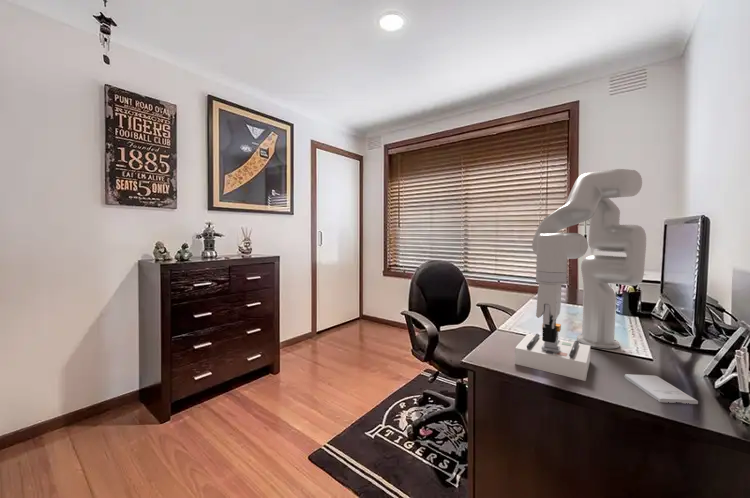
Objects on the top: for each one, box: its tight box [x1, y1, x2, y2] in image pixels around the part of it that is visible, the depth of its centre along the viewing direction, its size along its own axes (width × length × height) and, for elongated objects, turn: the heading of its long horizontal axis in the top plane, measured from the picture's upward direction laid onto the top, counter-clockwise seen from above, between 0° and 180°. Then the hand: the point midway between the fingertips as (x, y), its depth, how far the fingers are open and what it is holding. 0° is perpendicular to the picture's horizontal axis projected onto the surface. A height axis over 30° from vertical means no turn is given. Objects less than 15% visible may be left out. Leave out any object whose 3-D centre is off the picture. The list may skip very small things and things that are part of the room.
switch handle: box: [541, 322, 562, 353], centre depth 93 cm, size 4×4×8 cm
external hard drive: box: [624, 373, 699, 405], centre depth 80 cm, size 2×8×12 cm
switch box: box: [514, 333, 591, 382], centre depth 97 cm, size 16×18×6 cm
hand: (549, 341), depth 90 cm, fingers closed
